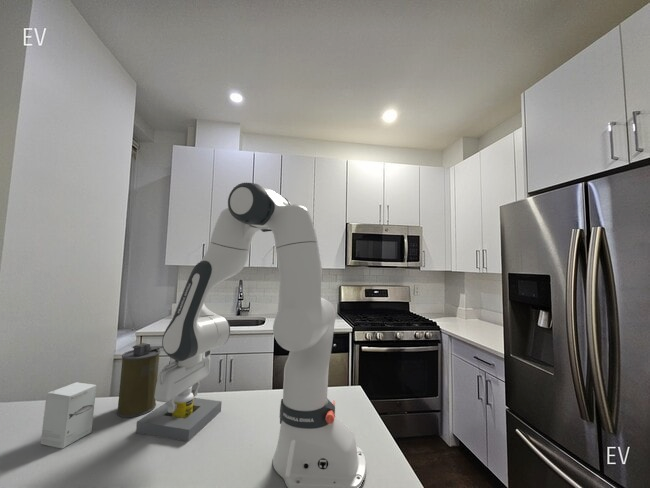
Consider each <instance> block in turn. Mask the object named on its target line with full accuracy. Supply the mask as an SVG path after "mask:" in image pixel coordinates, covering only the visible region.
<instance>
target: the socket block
mask: <svg viewBox="0 0 650 488" xmlns="http://www.w3.org/2000/svg"><path fill="white" fill-rule="evenodd" d="M167 410H168V406H167V404H166V402H164V403H163V404H162V405H160V406H159V407H157V408H156V409H155V408H154V409H153V410H151V411H150V412H148V414H146V415H145V416H143V417H142V418H140V419H138V420H137V421H136V429H135V433H136V434H138V435H139V434H140V435H146V436H153V437H158V438H164V439H170V440H177V441H182V442H190V441H191V440H192V439H194V437H195V436H196V435H197V434H198V433H200V431H202V430H203V429H204V428H205V427H206V426H207V425H208V424H209V423H210V422H212V420H213V419H214V418H215V417H216V416H217V415H219V414H220V413H221V411H222V400H214V399H206V398H198V397H194V398H193V411H192V414H191V415H189V416H188V417H187V418H186V419H184V418H177V417H172V413H169V412H168V411H167Z"/></svg>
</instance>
